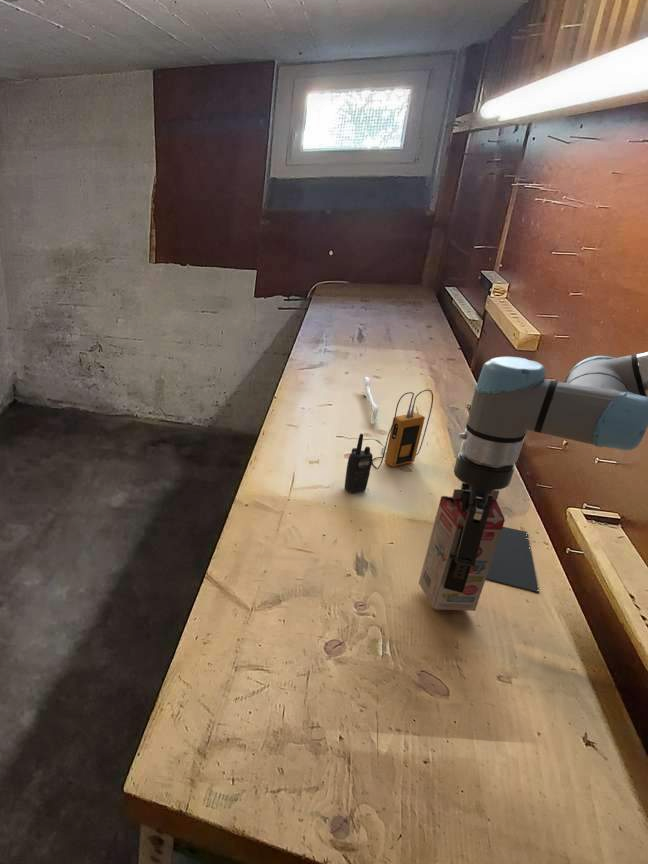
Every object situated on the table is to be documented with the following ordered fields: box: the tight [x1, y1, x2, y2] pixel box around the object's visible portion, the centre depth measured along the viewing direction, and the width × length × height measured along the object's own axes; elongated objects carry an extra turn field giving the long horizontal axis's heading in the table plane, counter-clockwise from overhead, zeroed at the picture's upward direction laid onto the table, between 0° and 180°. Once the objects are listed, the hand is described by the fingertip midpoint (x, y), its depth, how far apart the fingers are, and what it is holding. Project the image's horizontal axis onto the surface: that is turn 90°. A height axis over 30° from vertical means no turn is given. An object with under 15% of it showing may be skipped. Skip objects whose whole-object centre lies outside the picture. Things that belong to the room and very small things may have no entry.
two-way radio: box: [344, 433, 374, 493], centre depth 130 cm, size 6×4×15 cm
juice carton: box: [418, 488, 506, 612], centre depth 94 cm, size 7×7×22 cm
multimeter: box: [371, 389, 434, 470], centre depth 142 cm, size 15×10×20 cm
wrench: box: [362, 377, 379, 425], centre depth 172 cm, size 28×2×6 cm, turn 164°
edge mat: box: [485, 526, 540, 593], centre depth 111 cm, size 14×20×1 cm
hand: (452, 572), depth 96 cm, fingers closed on juice carton, 8 cm apart
